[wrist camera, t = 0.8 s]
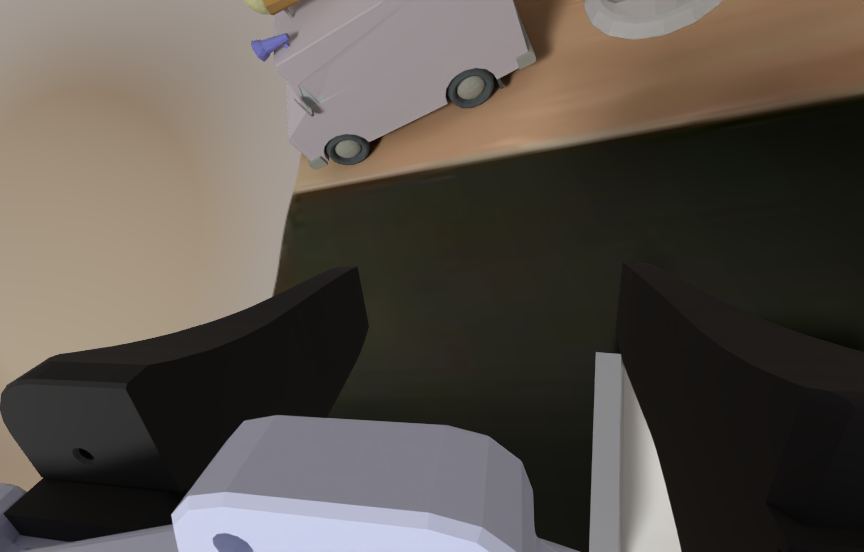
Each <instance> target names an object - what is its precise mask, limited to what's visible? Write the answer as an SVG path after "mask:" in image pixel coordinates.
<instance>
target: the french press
mask: <svg viewBox="0 0 864 552" xmlns="http://www.w3.org/2000/svg"><path fill="white" fill-rule="evenodd" d="M722 1H723V0H585V5H584V8H585V10H586V13H587V15H588V18H589V20H590V23H591V24H592V25H594V26H595V27H596V28H598V29H599V30H601V31H602V32H604V33H605V34H606V35H609V36H614V37H620V38H626V39H632V40H635V39H642V38H649V37H656V36H663V35H666V34H669V33H671V32H674V31H676V30H678V29H681V28H683V27H686V26H688V25H690V24H693V23H695V22H697V21H698V20H699V19H701V18H702V17H703V16H704V15H706V14H707V13H708V12H710V11H711V10H712V9H714V8H715V7H716V6H717V5H719V4H720V3H721V2H722Z"/></svg>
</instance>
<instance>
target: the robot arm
mask: <svg viewBox="0 0 864 552" xmlns="http://www.w3.org/2000/svg"><path fill="white" fill-rule="evenodd" d="M368 328H369V325H368V320H367V314H366V309H365V304H364V299H363V293H362V288H361V283H360V278H359V273H358V267H337V268H333V269H330V270H328V271H325V272H323V273H321V274H319V275H317V276H315V277H313V278H310V279H308V280H306V281H304V282H302V283H300V284H298V285H296V286H294V287H292V288H290V289H288V290H286V291H284V292H282V293H280V294H278V295H276V296H274V297H272V298H269V299H267V300H265V301H263V302H261V303H259V304H256V305H254V306H252V307H250V308H248V309H245V310H242V311H240V312H237V313H235V314H232V315H229V316H226V317H224V318H221V319H218V320H216V321H212V322H209V323H206V324H203V325H199V326H196V327H192V328H189V329H186V330H182V331H179V332H176V333H172V334H168V335H164V336H160V337H156V338H152V339H147V340H142V341H137V342H133V343H128V344H122V345H117V346H112V347H105V348H98V349H92V350H85V351H79V352H73V353H65V354H59V355H55V356H53V357H50V358H48V359H47V360H45V361H44V362H42V363H41V364H39V365H37V366H36V367H35V368H33V369H31V370H30V371H28V372H27V373H25V374H24V375H22V376H21V377H19V378H17V379H16V380H14V381H13V382H11V383H10V384H8V385H7V386H6V388H5V389H4V391H3V392H2V394H1V403H0V411H1V415H2V418H3V421H4V423H5V425H6V427H7V428H8V430H9V432H10V433H11V435H12V436H13V438H14V439H15V441H16V442H17V443H18V445H19V446H20V448H21V449H22V450H23V452H24V453H25V455H26V456H27V457H28V459H29V460H30V461H31V463H32V464H33V466H34V467H35V468H36V470H37V471H38V473H39V474H40V475H41V477H44V478H43V479H42V480H41V481H39V482H38V483H37V484H36V485H35V486H34V487H33V488H32V489H30V490H29V491H28V492H26V491H25V490H23V489H21V488H20V487H18V486H15V485H12V484H5V483H0V552H579V551H576V550H573V549H570V548H567V547H564V546H561V545H558V544H555V543H552V542H549V541H546V540H543V539H540V538H538V537H537V536H536V534H535V530H534V508H533V490H532V487H531V485H530V482H529V479H528V477H527V474H526V472H525V469H524V466H523V464H522V461H521V460H519V459H518V458H517V457H515V456H514V455H513V454H511V453H510V452H509V451H507V450H506V449H505V448H503V447H502V446H501V445H500V444H498V443H497V442H496V441H494V440H493V439H492V438H490V437H489V436H487V435H483V434H479V433H475V432H472V431H468V430H464V429H460V428H456V427H452V426H448V425H433V424H416V423H400V422H383V421H367V420H350V419H334V418H327V417H328V414H329V412H330V411H331V409H332V407H333V405H334V403H335V401H336V399H337V397H338V395H339V393H340V392H341V390H342V388H343V386H344V384H345V382H346V380H347V378H348V376H349V374H350V373H351V371H352V369H353V367H354V365H355V363H356V361H357V359H358V357H359V355H360V352H361V349H362V346H363V344H364V341H365V337H366V334H367V331H368ZM616 335H617V339H618V344H619V349H620V353H621V357H622V361H623V364H624V367H625V370H626V372H627V375H628V377H629V380H630V382H631V385H632V388H633V390H634V393H635V395H636V398H637V400H638V403H639V405H640V408H641V410H642V413H643V415H644V418H645V420H646V423H647V425H648V428H649V431H650V433H651V436H652V439H653V442H654V445H655V448H656V451H657V455H658V458H659V462H660V466H661V470H662V473H663V477H664V481H665V485H666V489H667V493H668V497H669V501H670V505H671V509H672V513H673V517H674V521H675V525H676V529H677V534H678V538H679V543H680V547H681V552H864V352H862V351H858V350H854V349H851V348H847V347H844V346H840V345H837V344H834V343H831V342H827V341H824V340H821V339H817V338H814V337H811V336H808V335H805V334H802V333H799V332H796V331H793V330H790V329H787V328H785V327H782V326H780V325H777V324H774V323H772V322H769V321H767V320H764V319H761V318H759V317H756V316H754V315H752V314H749V313H747V312H745V311H743V310H740V309H738V308H736V307H734V306H732V305H730V304H728V303H726V302H723V301H721V300H719V299H717V298H715V297H713V296H711V295H709V294H707V293H706V292H704V291H702V290H700V289H698V288H696V287H694V286H692V285H691V284H689V283H687V282H685V281H683V280H682V279H680V278H678V277H676V276H674V275H673V274H671V273H669V272H667V271H665V270H663V269H662V268H660V267H658V266H655V265H653V264H651V263H623V265H622V275H621V284H620V294H619V303H618V312H617V322H616Z"/></svg>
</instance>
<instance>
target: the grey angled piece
mask: <svg viewBox="0 0 864 552" xmlns="http://www.w3.org/2000/svg"><path fill="white" fill-rule="evenodd" d="M589 552H681V547H680V543H679V538H678V534H677V529H676V525H675V521H674V517H673V513H672V509H671V505H670V501H669V497H668V493H667V489H666V485H665V481H664V477H663V473H662V470H661V466H660V462H659V458H658V455H657V451H656V448H655V445H654V442H653V439H652V436H651V433H650V431H649V428H648V425H647V423H646V420H645V418H644V415H643V413H642V410H641V408H640V405H639V403H638V400H637V398H636V395H635V393H634V390H633V388H632V385H631V382H630V380H629V377H628V375H627V372H626V370H625V367H624V364H623V361H622V357H621V354H613V353H599V352H596V366H595V395H594V425H593V455H592V484H591V514H590V544H589Z"/></svg>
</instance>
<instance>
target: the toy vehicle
mask: <svg viewBox="0 0 864 552" xmlns="http://www.w3.org/2000/svg"><path fill="white" fill-rule="evenodd" d="M244 2H245V3H246V4H247V5H248V6H249V7H250V8H252V9H253V10H254V11H256V12H259V13H261V14H271V15H273V20H274V37H272V38H268V39H265V40H256V41H252V43H251V45H252V48H253V51H254V52H255V53H256V55H257V56H258V58H260V59H261V60H262V61H265V60H266V59H267V58H268V57H269V56H270V53H271V52H273V51H274V68H275V69H276V70H277V71H278V72H279V73H280V74H281V75H282V77H283V78H284V79H285V80H286V82H287V83H286V84H287V112H288V140H289V143H290V144H292V145H293V146H294V147H295V148H296V149H298V150H299V151H300V152H301V153H302V154H303V155H305V156H306V157H307V158H308V159H309V166H311V167H312V168H313V169H314V170H316V169H319V168H321V167H323V166H325V165H328V162H329V156H330V158H331V159H332V160H333V161H334V162H337V163H339V164H343V165H354V164H357V163H360V162H361V161H363V160H364V159H365V158H366V157H367V155H368V153H369V151H370V142H371V141H373V140H375V139H377V138H379V137H381V136H383V135H385V134H387V133H389V132H391V131H393V130H395V129H397V128H399V127H401V126H403V125H405V124H407V123H410V122H412V121H414V120H416V119H418V118H420V117H422V116H424V115H426V114H428V113H430V112H432V111H434V110H436V109H438V108H440V107H442V106H444V105H446V104H448V103H447V97H446V92H447V95H448V97H449V99H450V100H451V101H452V102H453V103H454V104H455V105H456V106H459V107H461V108H473V107H476V106H478V105H481V104H482V103H483V102H485V101H486V100H487V99H488V98H489V97H490V95H491V93H492V91H493V88H494V75H495V77H496V79H497V81H498V83H499V86H500V88H501V89H502V88H504V87H503V84H502V82H501V79H500V78H501V77H503V76H505V75H507V74H508V73H510V72H512V71H514V70H516V69H518V68H519V69H520V70H521V69H523V68H525V67H527V66H529V65H531V64H533V63H535V61H536V57H535V54H534V51H533V48H532V46H531V43H530V41H529V38H528V36H527V33H526V31H525V28H524V26H523V23H522V21H521V18H520V16H519V13H518V11H517V8H516V6H515V3H514V1H513V0H244ZM493 74H494V75H493Z"/></svg>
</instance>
